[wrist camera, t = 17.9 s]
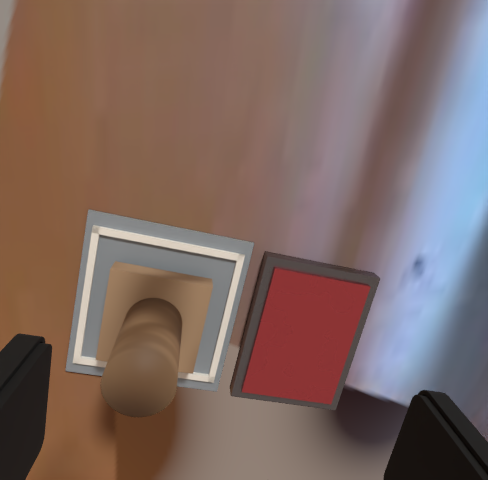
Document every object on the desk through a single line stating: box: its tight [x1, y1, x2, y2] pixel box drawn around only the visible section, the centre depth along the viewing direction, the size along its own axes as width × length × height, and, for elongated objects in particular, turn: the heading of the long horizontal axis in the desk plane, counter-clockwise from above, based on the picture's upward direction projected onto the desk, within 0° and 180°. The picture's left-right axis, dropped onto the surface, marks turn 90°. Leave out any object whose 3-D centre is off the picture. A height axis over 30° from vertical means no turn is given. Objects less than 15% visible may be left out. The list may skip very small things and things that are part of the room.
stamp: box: [96, 261, 213, 417], centre depth 26 cm, size 7×7×9 cm
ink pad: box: [230, 251, 380, 410], centre depth 32 cm, size 9×12×2 cm
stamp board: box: [66, 210, 254, 391], centre depth 30 cm, size 12×13×1 cm
